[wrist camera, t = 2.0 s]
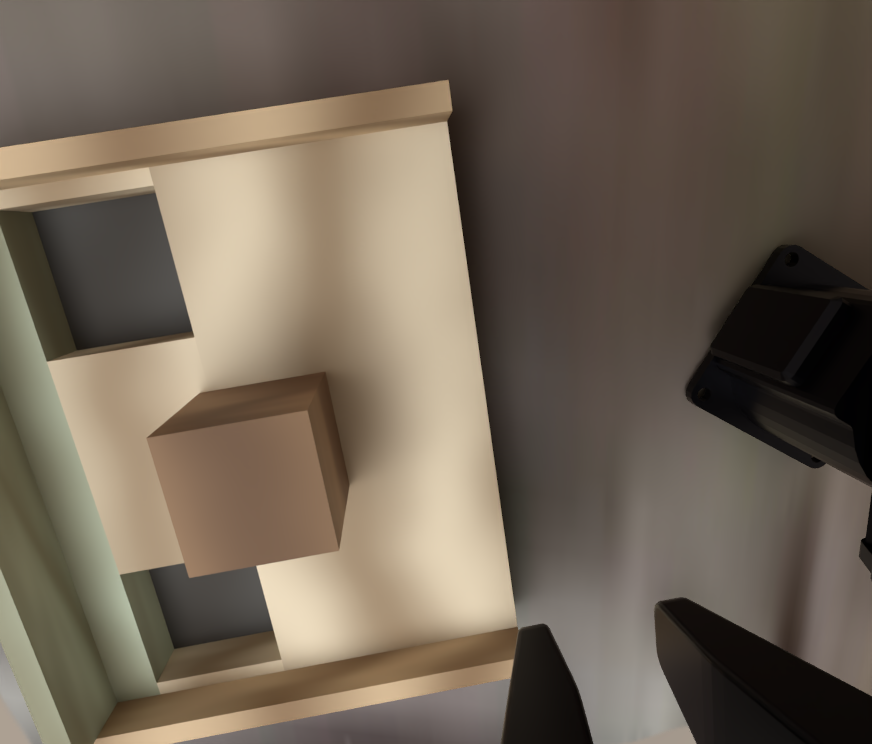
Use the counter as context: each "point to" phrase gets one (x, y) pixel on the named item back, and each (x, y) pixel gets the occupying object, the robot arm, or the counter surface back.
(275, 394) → the walnut block
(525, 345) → the counter surface
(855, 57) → the counter surface
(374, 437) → the trap track
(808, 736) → the robot arm
